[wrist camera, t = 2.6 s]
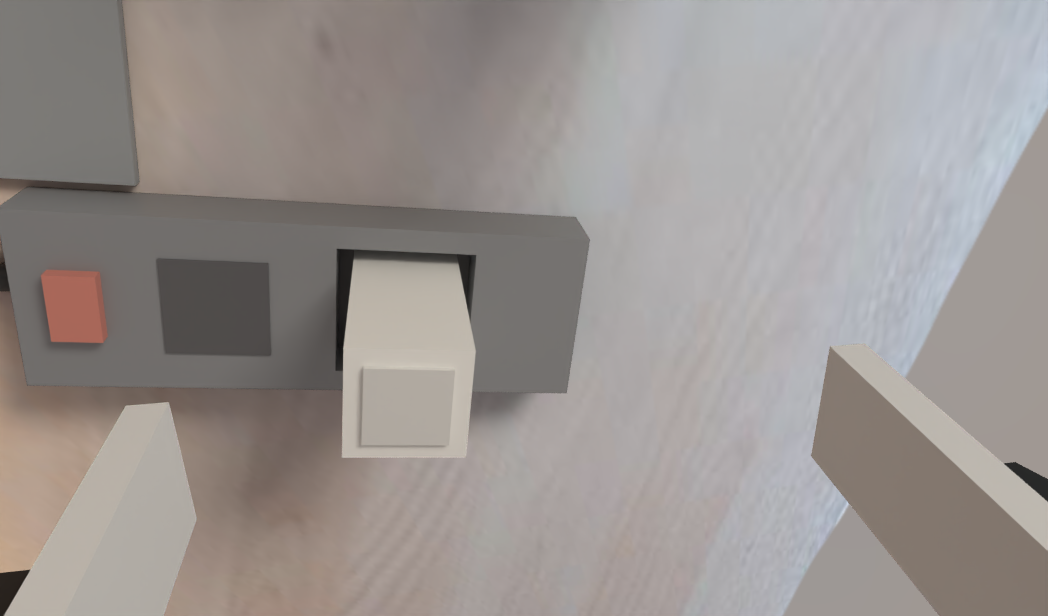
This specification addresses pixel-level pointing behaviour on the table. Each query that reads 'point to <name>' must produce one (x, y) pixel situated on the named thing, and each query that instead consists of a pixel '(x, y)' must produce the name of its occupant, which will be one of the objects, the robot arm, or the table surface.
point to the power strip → (266, 288)
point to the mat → (65, 93)
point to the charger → (406, 357)
